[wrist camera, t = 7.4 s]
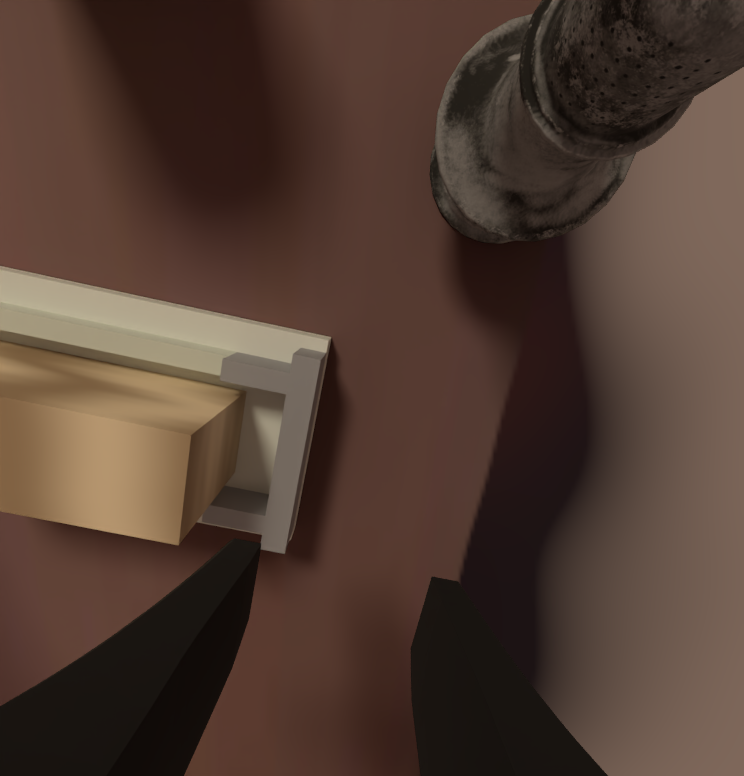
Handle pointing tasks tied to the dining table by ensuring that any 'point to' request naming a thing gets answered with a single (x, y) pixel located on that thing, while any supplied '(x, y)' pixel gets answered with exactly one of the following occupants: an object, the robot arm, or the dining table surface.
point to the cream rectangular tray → (196, 362)
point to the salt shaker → (570, 108)
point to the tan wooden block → (112, 443)
